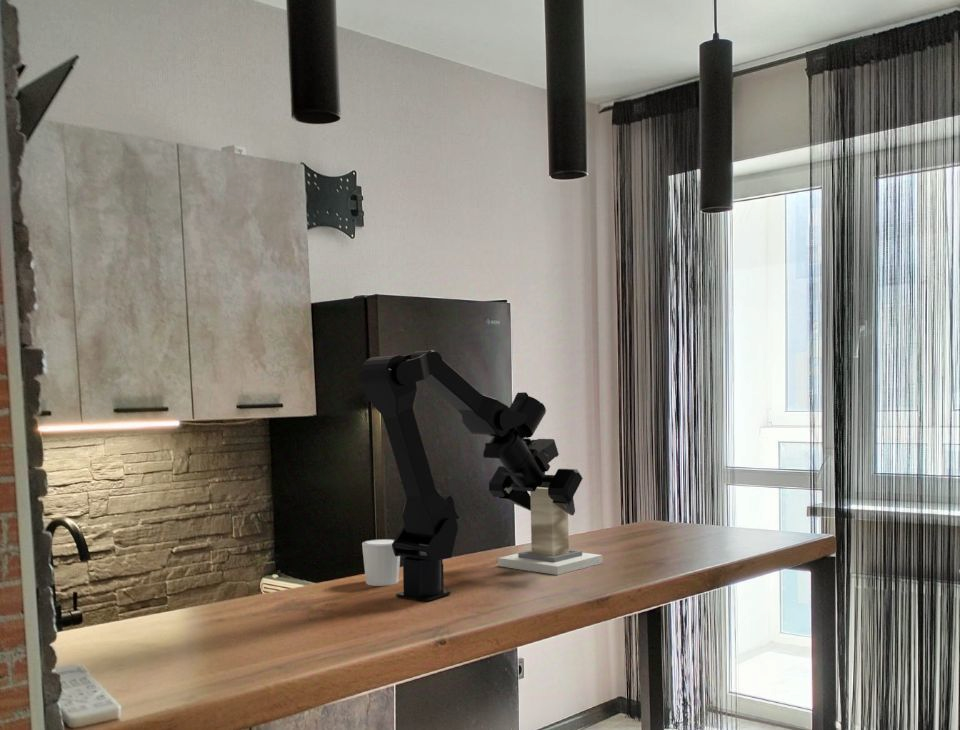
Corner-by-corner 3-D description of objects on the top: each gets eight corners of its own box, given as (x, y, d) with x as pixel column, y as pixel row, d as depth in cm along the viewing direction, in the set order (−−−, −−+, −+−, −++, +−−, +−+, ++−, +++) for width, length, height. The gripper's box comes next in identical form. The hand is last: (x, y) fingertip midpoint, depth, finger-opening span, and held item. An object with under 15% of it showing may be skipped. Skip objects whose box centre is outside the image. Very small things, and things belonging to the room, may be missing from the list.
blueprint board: (557, 574, 150) (557, 561, 150) (498, 566, 159) (498, 553, 159) (602, 563, 160) (602, 550, 160) (544, 555, 170) (543, 543, 170)
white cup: (405, 578, 149) (405, 538, 150) (397, 586, 143) (397, 544, 143) (367, 578, 150) (367, 538, 151) (357, 586, 143) (357, 544, 144)
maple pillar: (552, 559, 156) (551, 489, 157) (531, 557, 160) (530, 487, 160) (568, 555, 160) (567, 486, 161) (547, 553, 163) (546, 485, 164)
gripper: (575, 424, 152) (611, 481, 159) (496, 424, 164) (533, 477, 172) (549, 471, 146) (587, 528, 153) (469, 467, 158) (509, 520, 166)
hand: (553, 511), depth 161 cm, fingers open, 9 cm apart
